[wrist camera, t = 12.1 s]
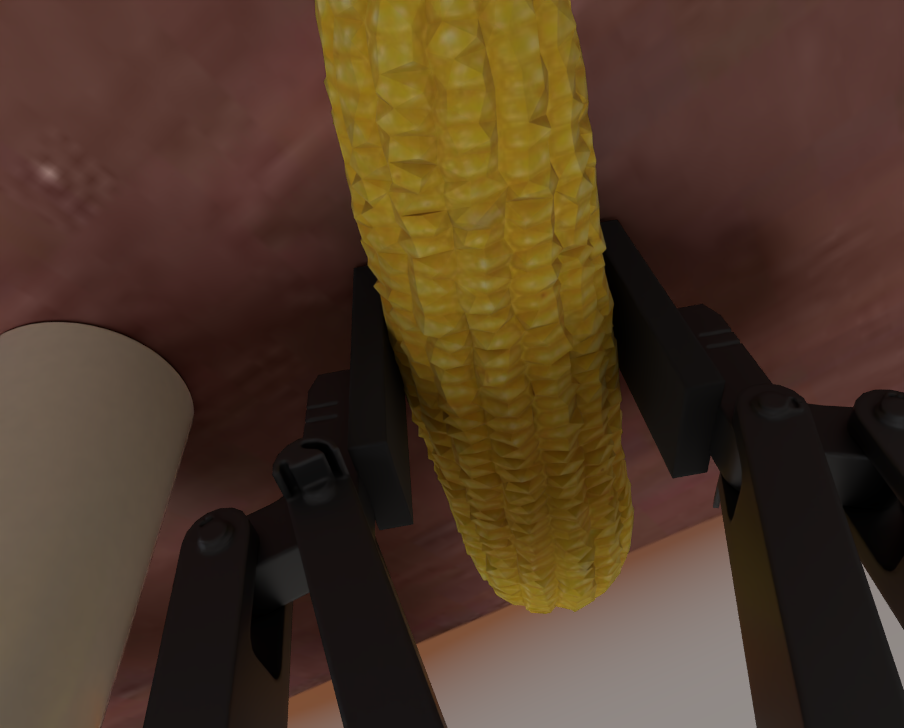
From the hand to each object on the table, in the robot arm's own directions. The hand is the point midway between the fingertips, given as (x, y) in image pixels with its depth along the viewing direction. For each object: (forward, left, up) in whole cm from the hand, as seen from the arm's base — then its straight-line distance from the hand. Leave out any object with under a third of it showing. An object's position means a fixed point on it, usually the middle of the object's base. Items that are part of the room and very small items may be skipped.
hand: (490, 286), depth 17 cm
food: (0, 0, 0) cm, 0 cm away
